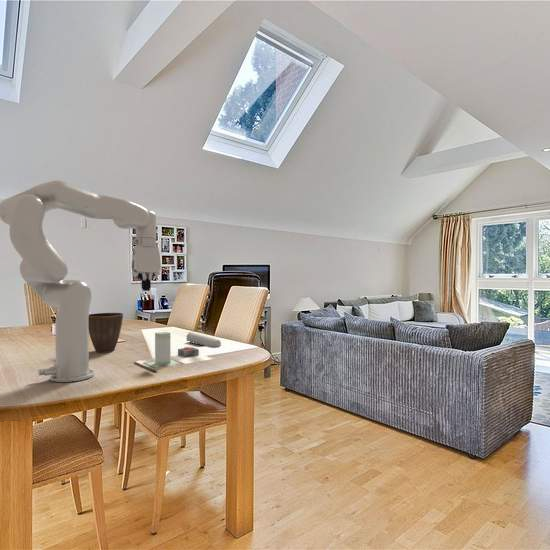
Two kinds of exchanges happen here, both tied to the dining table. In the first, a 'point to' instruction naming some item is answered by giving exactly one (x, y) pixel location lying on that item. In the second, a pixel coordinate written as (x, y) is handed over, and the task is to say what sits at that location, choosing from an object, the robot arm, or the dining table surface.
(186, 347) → the button
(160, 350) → the grey upright block
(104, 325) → the plant pot
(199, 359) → the board
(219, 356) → the dining table surface
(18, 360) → the dining table surface
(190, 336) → the tube
